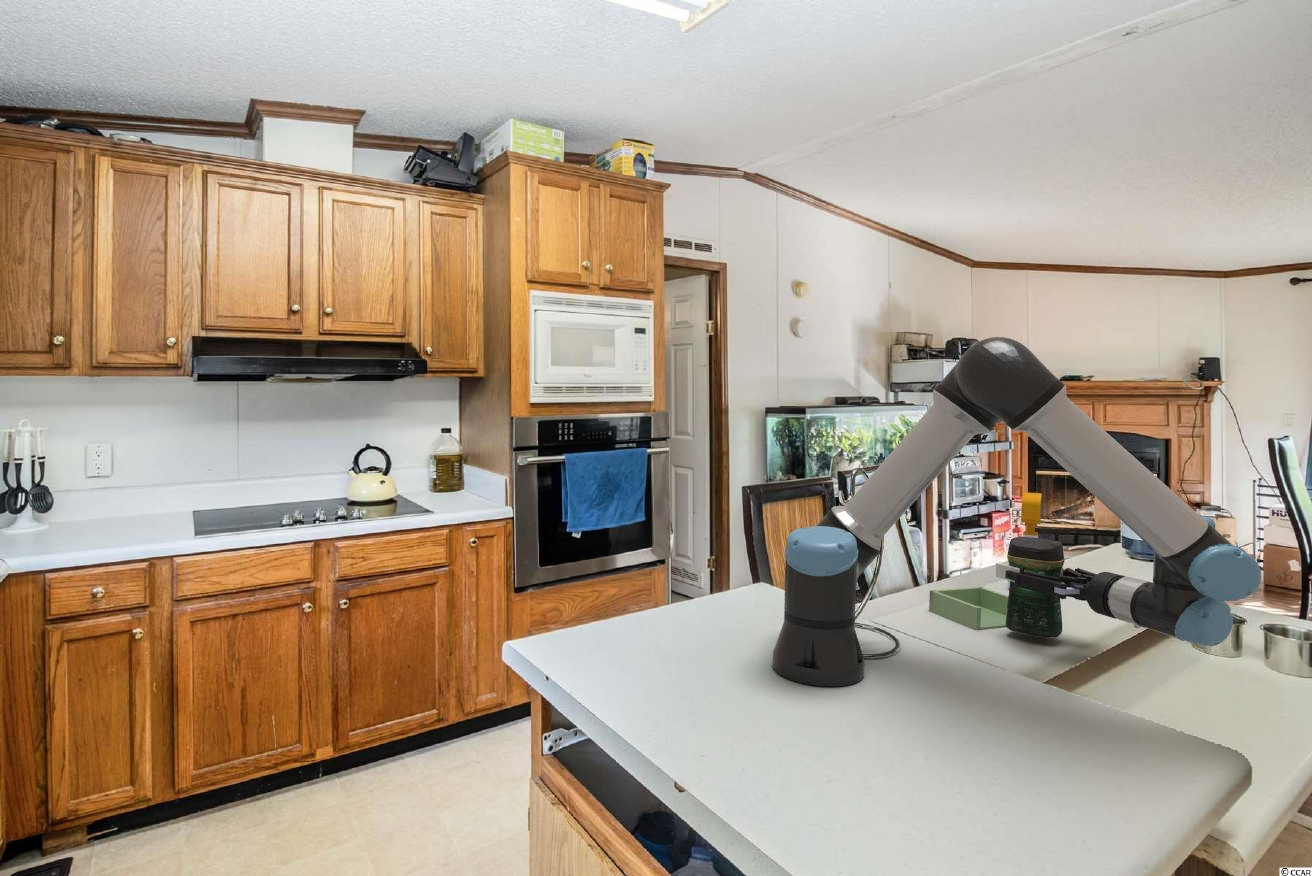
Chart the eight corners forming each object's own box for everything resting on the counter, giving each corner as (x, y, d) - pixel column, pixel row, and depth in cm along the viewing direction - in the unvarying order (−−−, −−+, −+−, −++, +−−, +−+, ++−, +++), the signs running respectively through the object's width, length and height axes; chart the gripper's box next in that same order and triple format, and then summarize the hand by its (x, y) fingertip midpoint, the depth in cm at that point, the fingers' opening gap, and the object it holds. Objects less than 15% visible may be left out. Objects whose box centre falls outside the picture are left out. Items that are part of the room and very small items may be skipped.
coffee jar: (1066, 633, 134) (1070, 539, 134) (1054, 642, 129) (1057, 544, 128) (1013, 622, 141) (1017, 532, 141) (999, 630, 136) (1002, 536, 135)
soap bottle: (1049, 590, 173) (1053, 493, 172) (1048, 598, 165) (1052, 496, 164) (1009, 585, 177) (1013, 490, 176) (1006, 592, 170) (1010, 493, 169)
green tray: (976, 629, 140) (977, 608, 139) (929, 610, 153) (929, 590, 153) (1030, 624, 144) (1031, 603, 144) (979, 606, 157) (980, 586, 157)
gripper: (1073, 624, 114) (972, 590, 136) (1166, 615, 121) (1056, 583, 142) (1075, 579, 114) (973, 552, 136) (1168, 572, 121) (1057, 547, 142)
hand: (1015, 568), depth 139 cm, fingers closed on coffee jar, 9 cm apart
